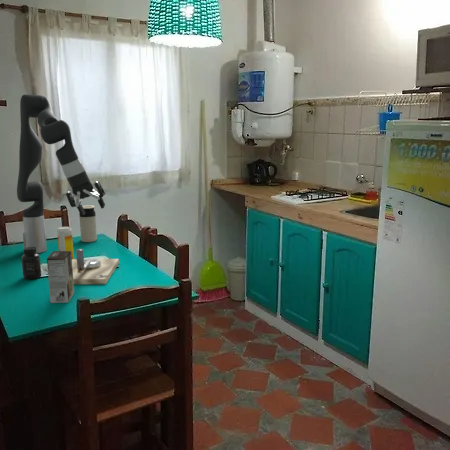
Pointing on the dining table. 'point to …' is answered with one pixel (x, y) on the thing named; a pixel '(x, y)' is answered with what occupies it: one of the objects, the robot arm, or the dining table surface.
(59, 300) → the coffee box
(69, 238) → the yellow white bottle
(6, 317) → the dining table surface
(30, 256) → the supplement bottle
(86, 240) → the travel mug
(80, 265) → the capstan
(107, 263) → the wooden cutting board
